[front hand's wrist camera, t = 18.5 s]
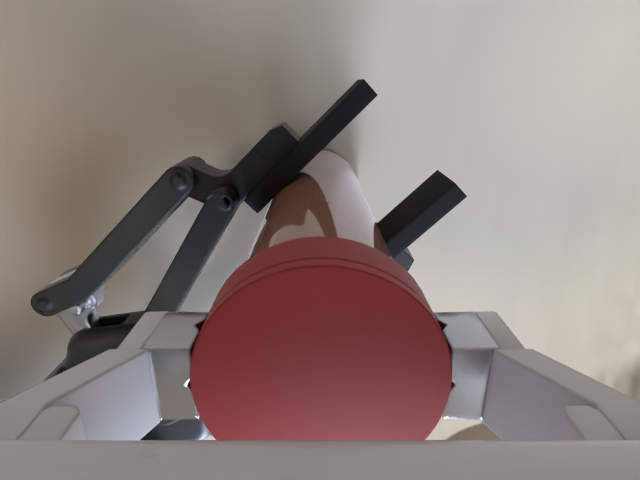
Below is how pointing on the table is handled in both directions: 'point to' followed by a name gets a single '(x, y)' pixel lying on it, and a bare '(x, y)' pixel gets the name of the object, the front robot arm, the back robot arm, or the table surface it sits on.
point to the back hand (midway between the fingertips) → (409, 137)
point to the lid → (320, 348)
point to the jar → (320, 207)
